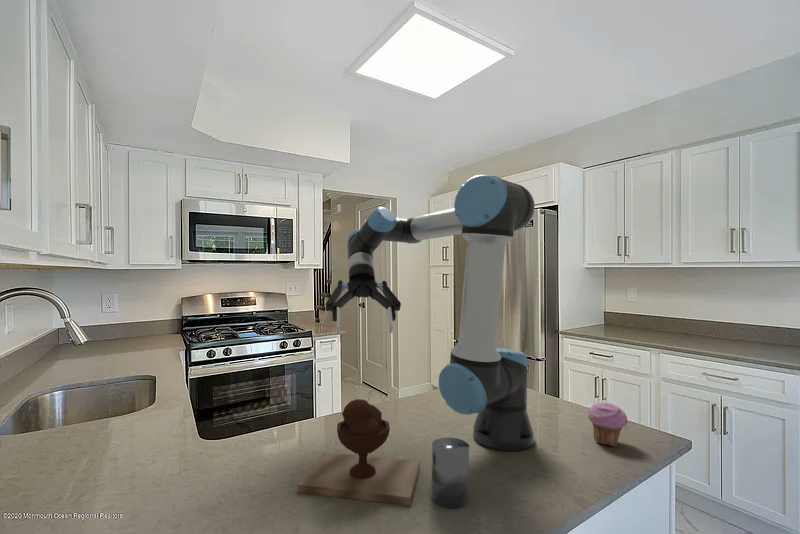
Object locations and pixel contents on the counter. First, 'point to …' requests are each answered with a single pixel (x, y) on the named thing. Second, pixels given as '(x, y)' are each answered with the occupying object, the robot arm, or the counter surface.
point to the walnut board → (385, 486)
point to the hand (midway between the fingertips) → (365, 330)
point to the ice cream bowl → (362, 434)
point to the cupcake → (607, 422)
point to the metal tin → (450, 473)
